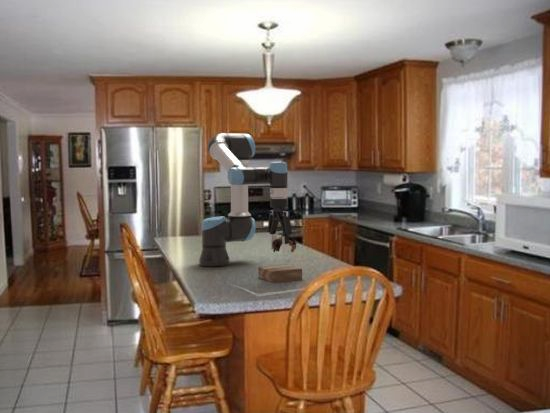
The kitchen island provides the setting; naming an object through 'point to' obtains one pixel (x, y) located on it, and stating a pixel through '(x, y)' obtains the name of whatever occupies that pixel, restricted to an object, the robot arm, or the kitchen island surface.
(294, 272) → the walnut riser block
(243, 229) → the robot arm
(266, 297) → the kitchen island surface
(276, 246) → the brown piece
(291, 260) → the kitchen island surface
